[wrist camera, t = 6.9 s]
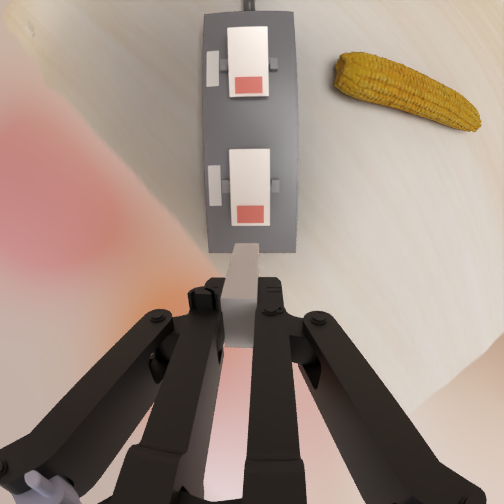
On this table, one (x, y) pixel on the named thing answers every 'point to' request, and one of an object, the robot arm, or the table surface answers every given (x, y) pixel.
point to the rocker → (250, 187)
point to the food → (403, 90)
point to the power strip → (251, 130)
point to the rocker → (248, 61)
